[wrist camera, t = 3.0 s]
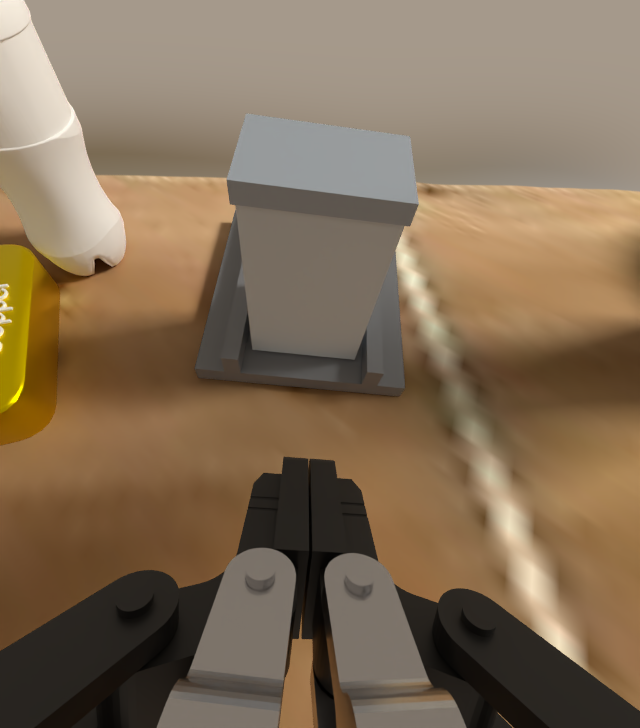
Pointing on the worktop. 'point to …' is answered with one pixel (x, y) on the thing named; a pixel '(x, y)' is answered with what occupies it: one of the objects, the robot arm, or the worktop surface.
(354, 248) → the grey tall block
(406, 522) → the worktop surface
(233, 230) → the track
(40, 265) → the element tile
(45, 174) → the water bottle
